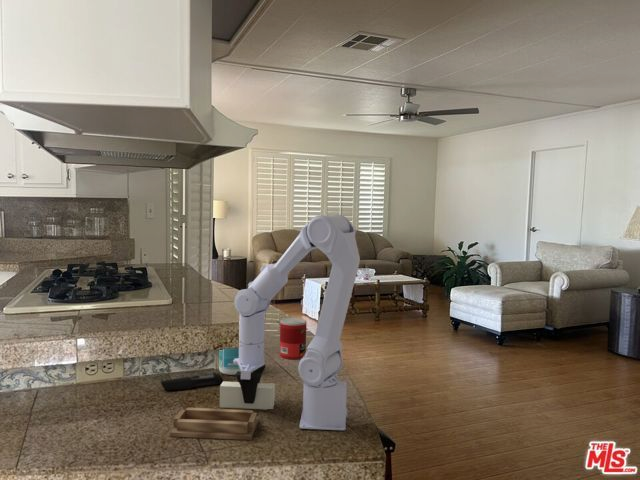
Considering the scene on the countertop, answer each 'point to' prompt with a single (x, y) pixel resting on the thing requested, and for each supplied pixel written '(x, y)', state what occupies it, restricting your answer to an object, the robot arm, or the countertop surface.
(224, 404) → the clay strip
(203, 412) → the tray
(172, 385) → the electric trimmer
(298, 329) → the canned food
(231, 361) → the pill bottle
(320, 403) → the robot arm
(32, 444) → the countertop surface
